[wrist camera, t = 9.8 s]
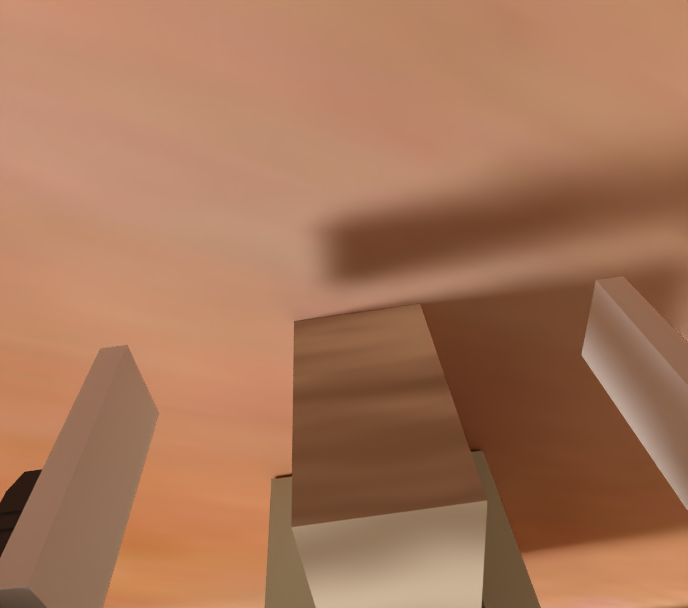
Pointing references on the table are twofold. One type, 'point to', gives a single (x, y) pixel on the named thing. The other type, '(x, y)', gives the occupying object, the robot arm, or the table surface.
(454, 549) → the peg
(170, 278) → the table surface
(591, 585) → the table surface
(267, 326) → the table surface
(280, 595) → the block
